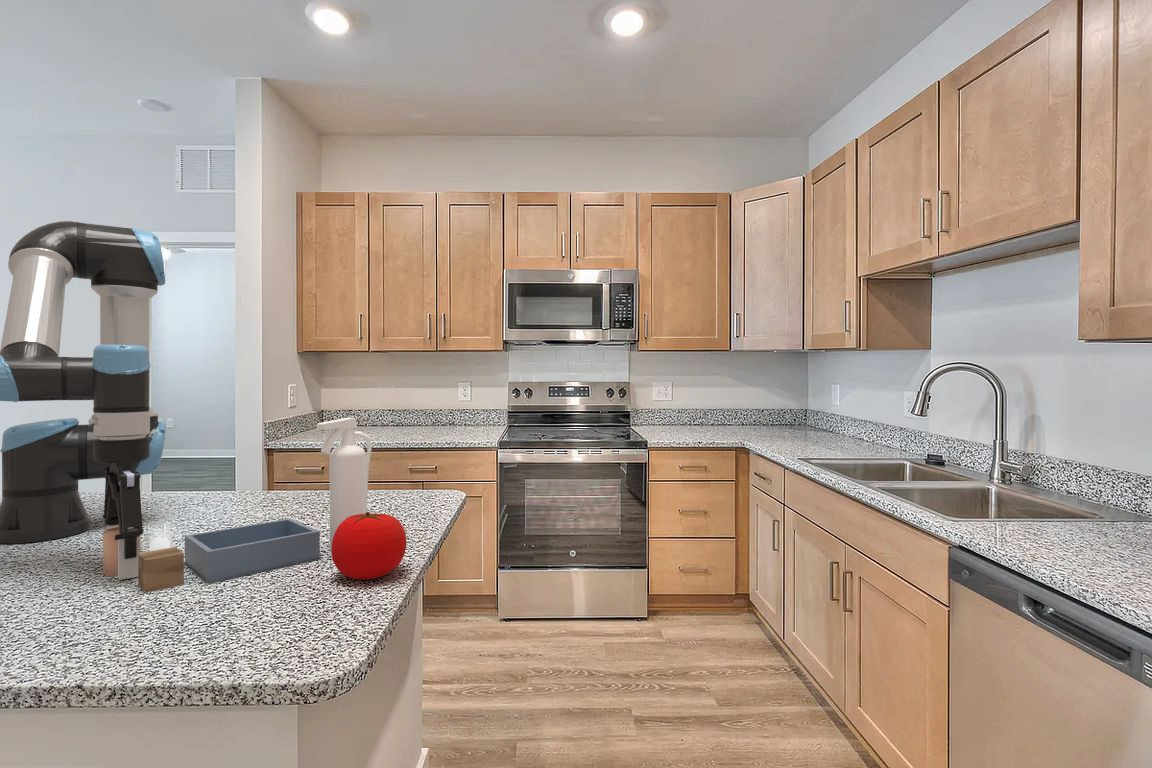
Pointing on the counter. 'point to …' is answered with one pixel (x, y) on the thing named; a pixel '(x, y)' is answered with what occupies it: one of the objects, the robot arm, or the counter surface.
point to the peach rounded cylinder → (111, 551)
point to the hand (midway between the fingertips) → (122, 569)
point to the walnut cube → (160, 569)
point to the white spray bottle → (346, 471)
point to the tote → (250, 549)
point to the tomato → (368, 545)
